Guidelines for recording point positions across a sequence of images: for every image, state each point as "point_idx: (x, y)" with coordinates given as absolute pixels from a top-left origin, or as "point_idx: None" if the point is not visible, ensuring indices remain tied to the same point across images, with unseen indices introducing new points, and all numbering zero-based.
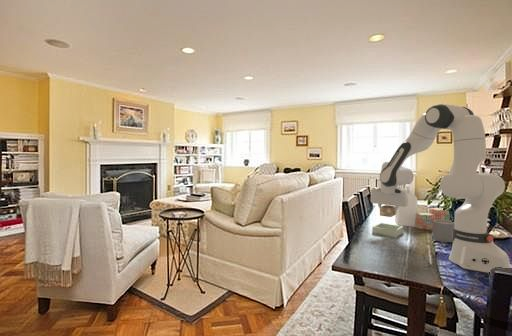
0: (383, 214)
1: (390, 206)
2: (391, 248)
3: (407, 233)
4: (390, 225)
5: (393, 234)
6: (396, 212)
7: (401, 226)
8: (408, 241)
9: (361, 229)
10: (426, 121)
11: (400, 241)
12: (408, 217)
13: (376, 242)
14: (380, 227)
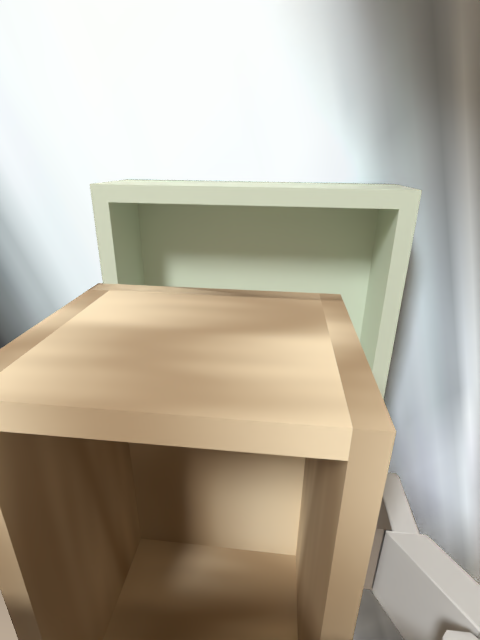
0: (184, 565)
1: (162, 422)
2: (380, 624)
3: (446, 154)
4: (239, 202)
5: None
6: (399, 489)
7: (397, 207)
8: (473, 445)
9: (15, 333)
10: None
11: (411, 478)
12: None
13: None
14: (133, 223)
